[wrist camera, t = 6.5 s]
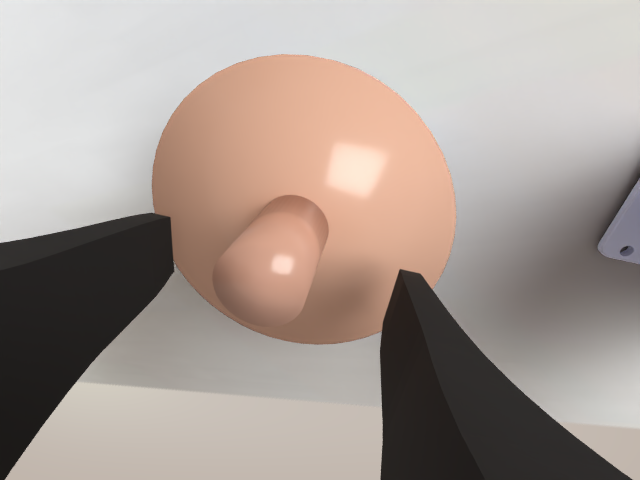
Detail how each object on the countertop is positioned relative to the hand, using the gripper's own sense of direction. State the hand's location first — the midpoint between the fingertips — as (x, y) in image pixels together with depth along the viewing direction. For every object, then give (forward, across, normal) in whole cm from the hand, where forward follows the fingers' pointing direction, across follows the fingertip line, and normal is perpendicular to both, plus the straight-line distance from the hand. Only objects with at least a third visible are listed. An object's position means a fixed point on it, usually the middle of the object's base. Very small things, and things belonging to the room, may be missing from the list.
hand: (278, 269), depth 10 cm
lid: (+2, 0, -1) cm, 2 cm away
